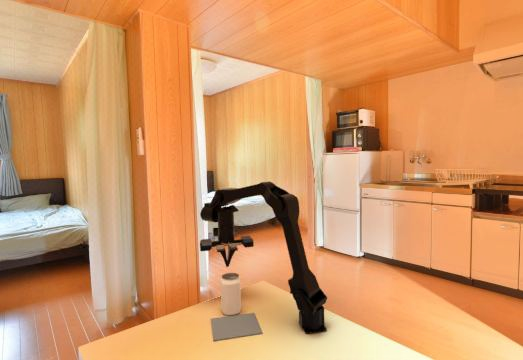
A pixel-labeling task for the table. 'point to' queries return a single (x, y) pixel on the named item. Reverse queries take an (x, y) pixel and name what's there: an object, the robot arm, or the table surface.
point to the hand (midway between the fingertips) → (227, 266)
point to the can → (230, 294)
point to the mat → (235, 326)
